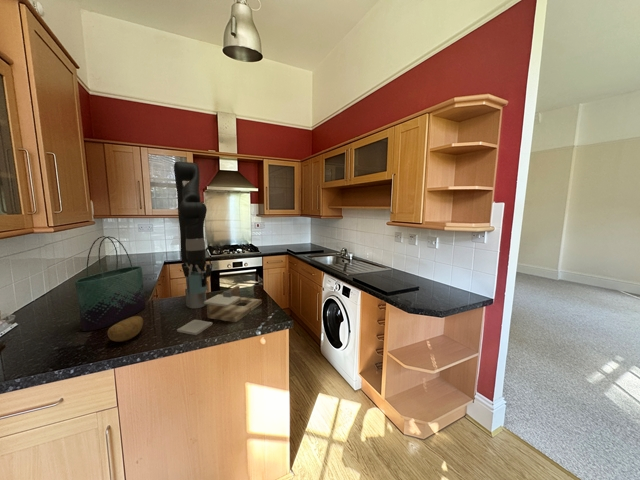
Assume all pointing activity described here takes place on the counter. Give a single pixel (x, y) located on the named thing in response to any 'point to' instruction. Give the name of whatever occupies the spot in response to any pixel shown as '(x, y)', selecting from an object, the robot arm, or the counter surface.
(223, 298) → the cover
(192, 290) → the block
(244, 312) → the puzzle board
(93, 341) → the counter surface
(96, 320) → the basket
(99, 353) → the counter surface
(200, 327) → the mat
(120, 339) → the potato
